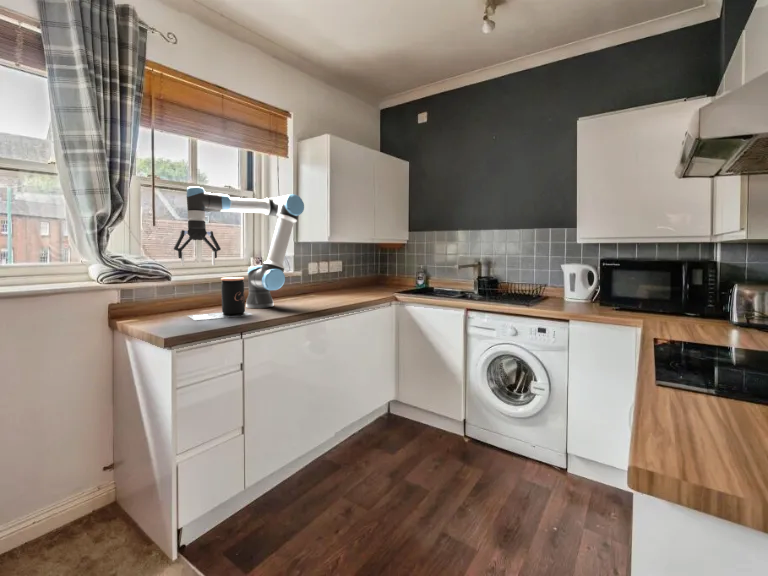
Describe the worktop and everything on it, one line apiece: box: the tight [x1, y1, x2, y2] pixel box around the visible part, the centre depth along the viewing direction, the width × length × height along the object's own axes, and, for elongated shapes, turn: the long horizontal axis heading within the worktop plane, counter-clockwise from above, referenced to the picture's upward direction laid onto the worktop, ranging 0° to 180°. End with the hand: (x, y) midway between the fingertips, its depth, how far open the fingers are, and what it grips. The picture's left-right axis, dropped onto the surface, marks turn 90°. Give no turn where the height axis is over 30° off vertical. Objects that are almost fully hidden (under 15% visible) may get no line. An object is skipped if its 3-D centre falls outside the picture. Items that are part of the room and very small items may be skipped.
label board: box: [187, 311, 253, 322], centre depth 191 cm, size 26×16×1 cm, turn 128°
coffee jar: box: [220, 276, 246, 315], centre depth 194 cm, size 11×11×18 cm
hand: (198, 265), depth 186 cm, fingers open, 13 cm apart
